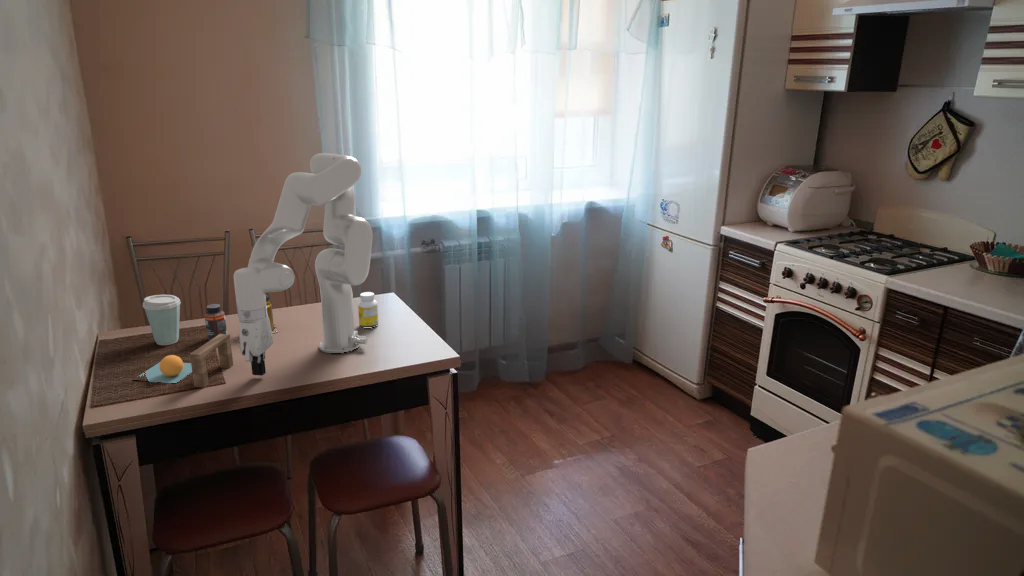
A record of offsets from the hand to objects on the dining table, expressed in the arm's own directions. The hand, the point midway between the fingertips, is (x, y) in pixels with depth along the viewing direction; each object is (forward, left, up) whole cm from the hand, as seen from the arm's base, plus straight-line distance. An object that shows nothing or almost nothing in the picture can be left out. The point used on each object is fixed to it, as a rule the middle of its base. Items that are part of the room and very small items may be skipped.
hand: (259, 373), depth 186 cm
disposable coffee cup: (+41, -20, -1) cm, 46 cm away
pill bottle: (-17, -44, -1) cm, 47 cm away
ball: (+24, +3, +2) cm, 25 cm away
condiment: (+16, -35, -1) cm, 39 cm away
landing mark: (+27, +1, -1) cm, 27 cm away
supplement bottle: (+27, -25, -1) cm, 37 cm away
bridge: (+13, +1, -1) cm, 13 cm away
